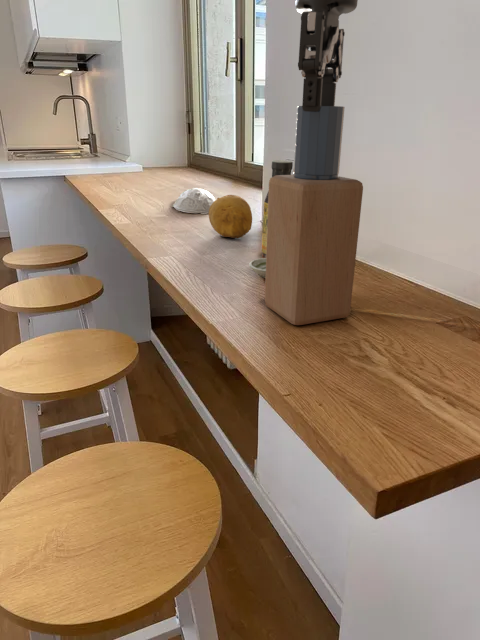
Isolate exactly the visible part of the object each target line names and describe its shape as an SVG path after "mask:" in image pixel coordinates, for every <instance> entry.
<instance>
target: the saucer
mask: <svg viewBox="0 0 480 640" xmlns="http://www.w3.org/2000/svg"><path fill="white" fill-rule="evenodd" d="M248 266H249V268H250V270H252V271H253V272H254V273H255V274H257V275H259V276H261V278H263V279H266V258H262V257H261V258H256V259H253V260H251V261H250V262H249V263H248Z"/></svg>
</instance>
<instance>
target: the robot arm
mask: <svg viewBox="0 0 480 640" xmlns="http://www.w3.org/2000/svg"><path fill="white" fill-rule="evenodd" d="M357 6H358V0H295V4H294V7H295V10H296V11H297V12H298V13H300V14H301V15H300V32H299V46H298V47H299V50H298V62H297V68H298V71H301V74H300V75H301V78H303V87H302V105H301V106H302V109H303V110H304V111H306V112H318V111H319V110H320V109H321V106H336V105H335V104H336V91H337V90H336V89H337V83H338V82H339V80H340V79H341V78H342V75H343V71H342V69H343V68H342V67H343V55H344V40H345V35H346V34H345V33H346V32H345V29H344V28H340V21H339V19H340V16H341V15H343V14H344V15H346V14H350V13H353V12H354V11H355V10H356V9H357Z"/></svg>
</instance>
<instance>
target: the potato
mask: <svg viewBox="0 0 480 640" xmlns="http://www.w3.org/2000/svg"><path fill="white" fill-rule="evenodd" d="M252 212H253V211H252V208H251V206H250V204H249V203H248V202H247V200H245V199H244V198H243V197H241V196H239V195H236V194H227V195H223V196H221V197H217V198H216V200H215V201H214V202H213V203H212V205H211V206H210V209H209V213H208V220H209V223H210V225H211V227H212V228H213V230H214V231H215V232H216V233H218V235H220V237H221V236H222V237H225V238H231V239H237V240H238V239H240V238H242V237H244V236H246V234H248V233H249V232H250V231H251V230H252V226H253V213H252Z"/></svg>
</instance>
